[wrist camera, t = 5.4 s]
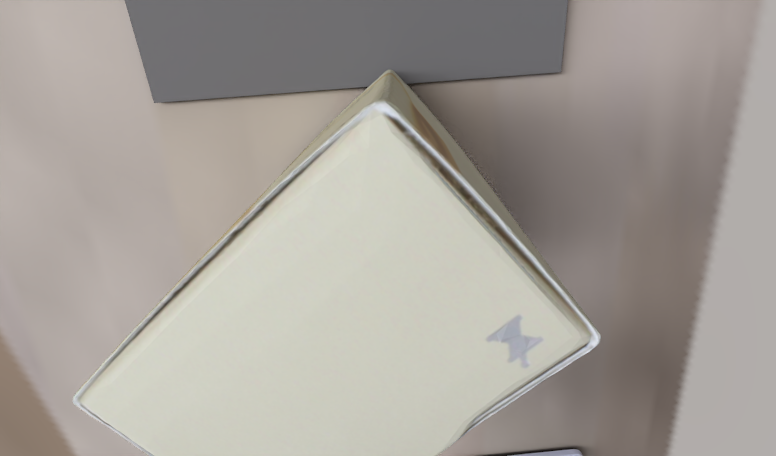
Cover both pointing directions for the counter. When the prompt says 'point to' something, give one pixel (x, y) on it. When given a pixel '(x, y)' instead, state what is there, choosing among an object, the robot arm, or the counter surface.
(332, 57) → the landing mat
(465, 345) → the skincare box
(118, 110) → the counter surface
